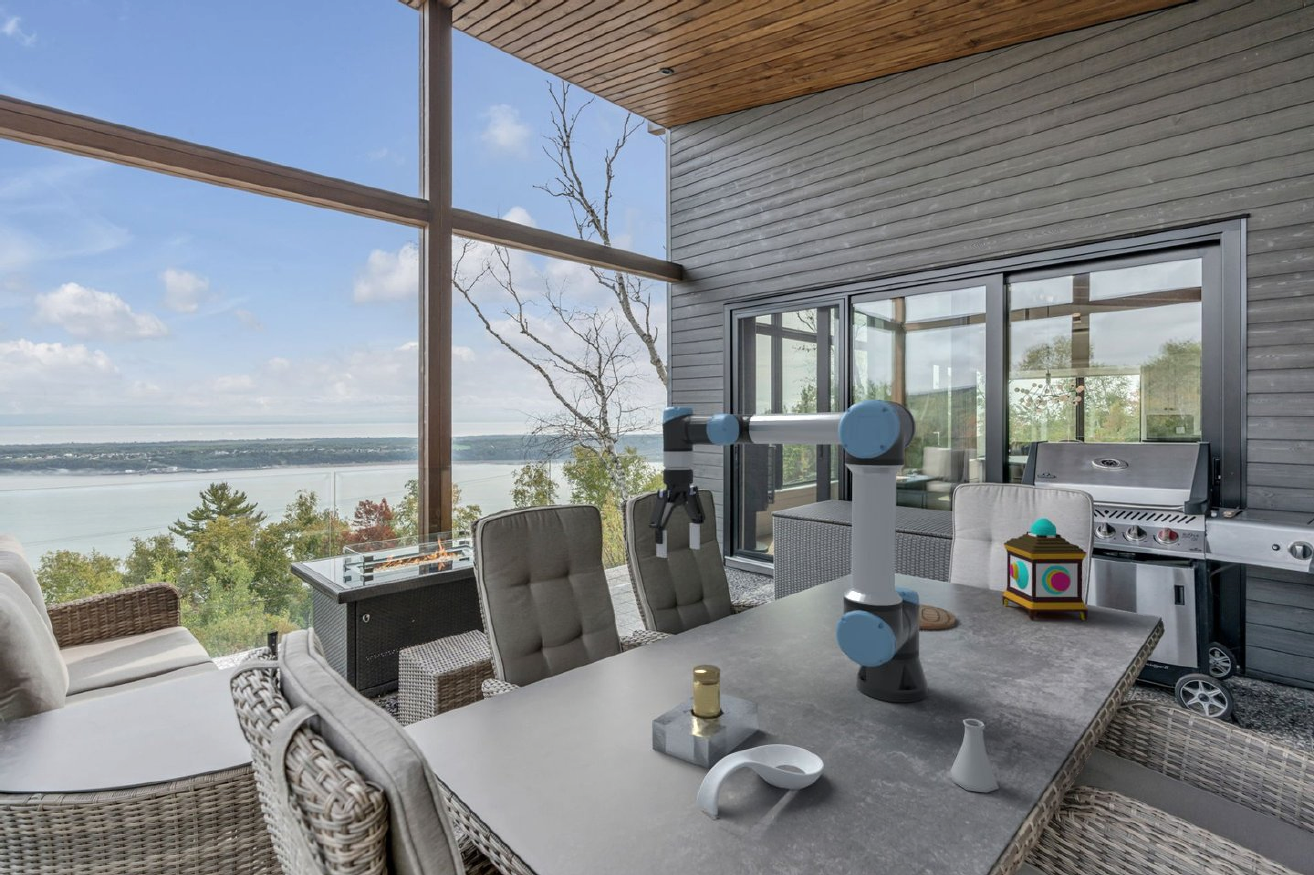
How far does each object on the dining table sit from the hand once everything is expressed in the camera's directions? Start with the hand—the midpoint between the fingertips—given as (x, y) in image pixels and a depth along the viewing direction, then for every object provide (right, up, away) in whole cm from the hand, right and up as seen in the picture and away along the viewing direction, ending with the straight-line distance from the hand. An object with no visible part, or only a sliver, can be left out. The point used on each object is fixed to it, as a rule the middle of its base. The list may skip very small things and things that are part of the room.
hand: (678, 552), depth 165 cm
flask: (+47, -29, -56) cm, 78 cm away
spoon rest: (+12, -29, -58) cm, 66 cm away
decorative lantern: (+117, -27, +43) cm, 127 cm away
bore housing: (+4, -28, -42) cm, 51 cm away
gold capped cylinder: (+4, -27, -42) cm, 50 cm away
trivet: (+73, -27, +38) cm, 87 cm away
